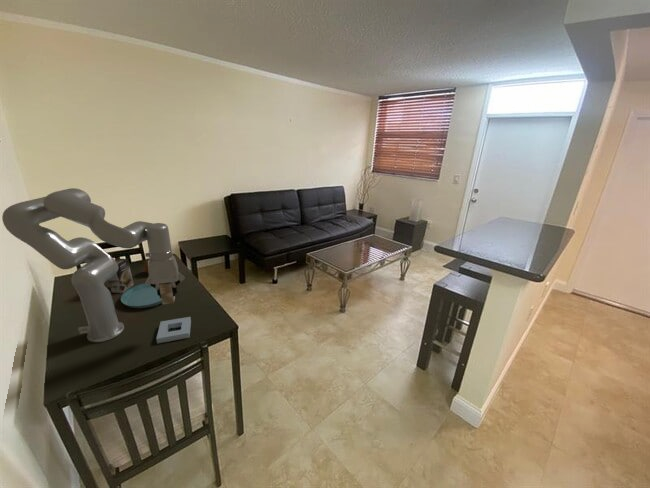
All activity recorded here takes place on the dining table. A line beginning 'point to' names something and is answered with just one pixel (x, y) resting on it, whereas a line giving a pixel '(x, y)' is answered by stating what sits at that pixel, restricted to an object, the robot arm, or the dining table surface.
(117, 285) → the coffee box
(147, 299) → the blue plate
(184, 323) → the grey square-hole plate
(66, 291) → the dining table surface
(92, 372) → the dining table surface
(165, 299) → the plug
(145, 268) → the fruit
